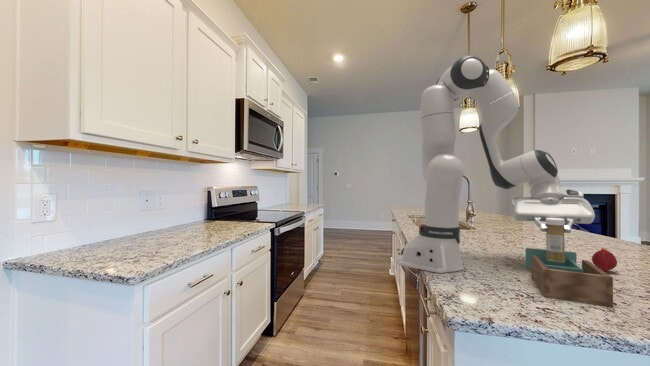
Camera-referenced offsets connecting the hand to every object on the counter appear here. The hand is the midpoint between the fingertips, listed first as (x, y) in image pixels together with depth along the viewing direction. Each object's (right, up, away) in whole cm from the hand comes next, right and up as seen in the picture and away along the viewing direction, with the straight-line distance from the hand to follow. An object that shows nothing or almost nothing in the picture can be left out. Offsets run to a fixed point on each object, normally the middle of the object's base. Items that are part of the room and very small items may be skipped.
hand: (555, 231), depth 85 cm
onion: (+21, -15, +5) cm, 26 cm away
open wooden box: (-5, -14, -10) cm, 18 cm away
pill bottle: (0, -10, +1) cm, 10 cm away
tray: (0, -13, 0) cm, 13 cm away
